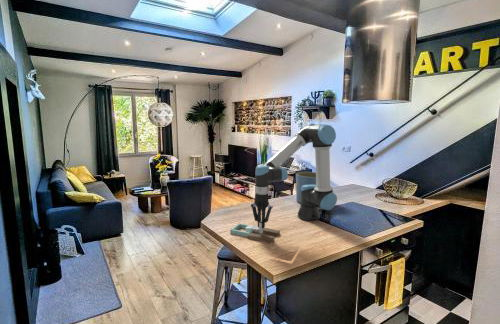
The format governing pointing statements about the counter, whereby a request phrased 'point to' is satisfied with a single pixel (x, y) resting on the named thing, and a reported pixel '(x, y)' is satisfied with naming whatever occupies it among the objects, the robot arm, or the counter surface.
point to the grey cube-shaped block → (249, 229)
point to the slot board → (265, 235)
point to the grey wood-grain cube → (255, 230)
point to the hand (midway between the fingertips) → (261, 232)
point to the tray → (237, 232)
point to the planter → (304, 182)
